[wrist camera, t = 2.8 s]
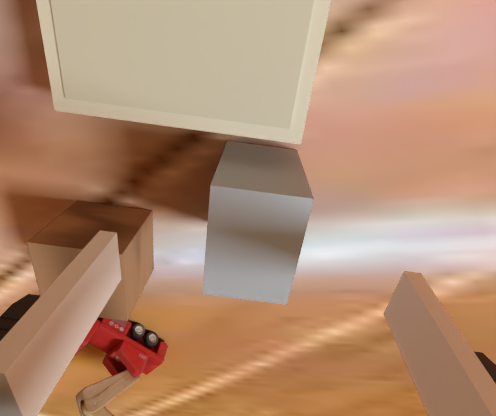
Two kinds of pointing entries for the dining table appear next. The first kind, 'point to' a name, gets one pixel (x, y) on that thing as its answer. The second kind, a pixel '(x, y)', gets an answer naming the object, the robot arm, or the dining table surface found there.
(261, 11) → the plinth
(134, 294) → the block
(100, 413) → the toy fire truck
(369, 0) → the dining table surface
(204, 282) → the block
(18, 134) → the dining table surface
